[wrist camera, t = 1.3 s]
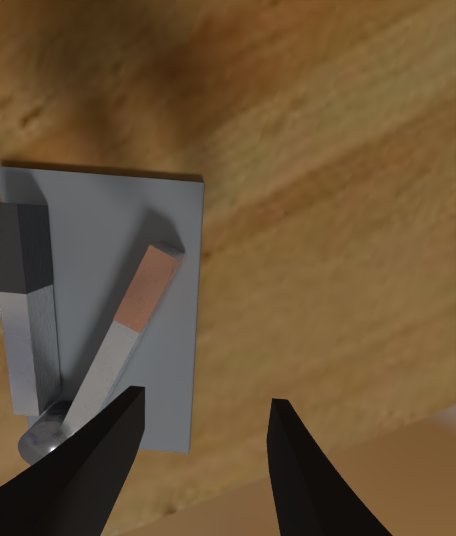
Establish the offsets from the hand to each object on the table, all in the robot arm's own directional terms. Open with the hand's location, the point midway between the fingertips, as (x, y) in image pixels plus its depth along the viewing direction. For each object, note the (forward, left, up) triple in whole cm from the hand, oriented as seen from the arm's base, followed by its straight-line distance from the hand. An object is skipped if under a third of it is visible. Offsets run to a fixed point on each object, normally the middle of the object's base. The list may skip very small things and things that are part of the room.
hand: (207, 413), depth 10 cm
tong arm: (-9, -4, -10) cm, 14 cm away
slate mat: (-9, -2, -10) cm, 14 cm away
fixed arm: (-14, 0, -10) cm, 17 cm away
